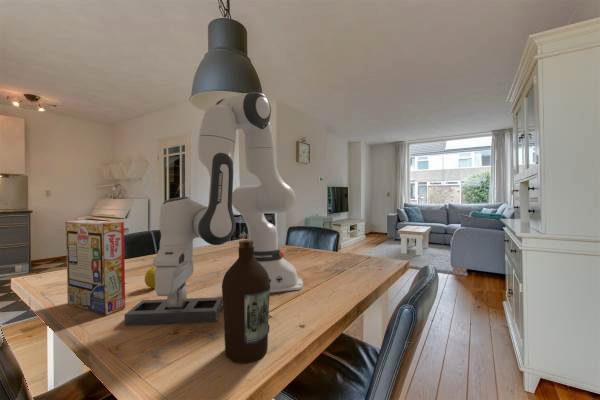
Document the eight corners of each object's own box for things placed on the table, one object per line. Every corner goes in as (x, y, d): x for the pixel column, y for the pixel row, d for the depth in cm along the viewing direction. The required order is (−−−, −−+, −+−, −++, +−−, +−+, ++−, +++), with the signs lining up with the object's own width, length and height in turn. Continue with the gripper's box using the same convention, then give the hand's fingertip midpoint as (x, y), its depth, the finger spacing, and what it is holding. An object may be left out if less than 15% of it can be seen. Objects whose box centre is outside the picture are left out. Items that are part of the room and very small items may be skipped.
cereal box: (126, 308, 84) (125, 221, 83) (104, 316, 78) (103, 223, 77) (87, 297, 92) (86, 219, 91) (65, 304, 86) (63, 220, 86)
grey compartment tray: (222, 306, 85) (222, 297, 85) (215, 321, 75) (215, 311, 75) (142, 309, 82) (142, 300, 82) (124, 325, 73) (124, 314, 72)
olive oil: (212, 352, 60) (212, 241, 60) (250, 333, 68) (249, 235, 68) (242, 372, 53) (241, 247, 53) (279, 349, 62) (279, 240, 61)
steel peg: (186, 310, 81) (186, 284, 81) (182, 316, 77) (181, 289, 77) (172, 311, 80) (172, 284, 80) (167, 317, 77) (167, 289, 76)
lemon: (154, 291, 98) (154, 269, 97) (141, 290, 99) (141, 269, 99) (165, 286, 103) (164, 265, 103) (152, 285, 104) (152, 265, 104)
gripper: (178, 246, 88) (178, 287, 89) (149, 261, 68) (150, 315, 68) (198, 245, 89) (198, 287, 89) (175, 261, 69) (176, 314, 69)
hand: (177, 299), depth 79 cm, fingers open, 4 cm apart
